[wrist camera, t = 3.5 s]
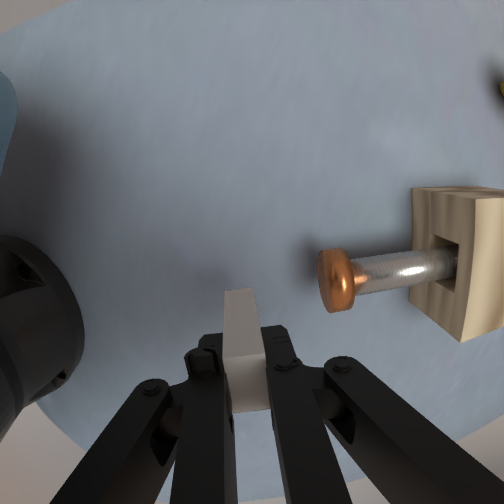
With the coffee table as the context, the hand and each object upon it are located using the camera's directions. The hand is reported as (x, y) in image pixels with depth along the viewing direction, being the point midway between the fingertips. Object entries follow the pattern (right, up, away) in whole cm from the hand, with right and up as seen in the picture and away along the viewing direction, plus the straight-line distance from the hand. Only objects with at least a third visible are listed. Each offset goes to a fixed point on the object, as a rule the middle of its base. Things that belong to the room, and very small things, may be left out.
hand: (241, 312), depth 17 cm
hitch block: (+18, +4, +8) cm, 20 cm away
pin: (+12, +3, +5) cm, 13 cm away
